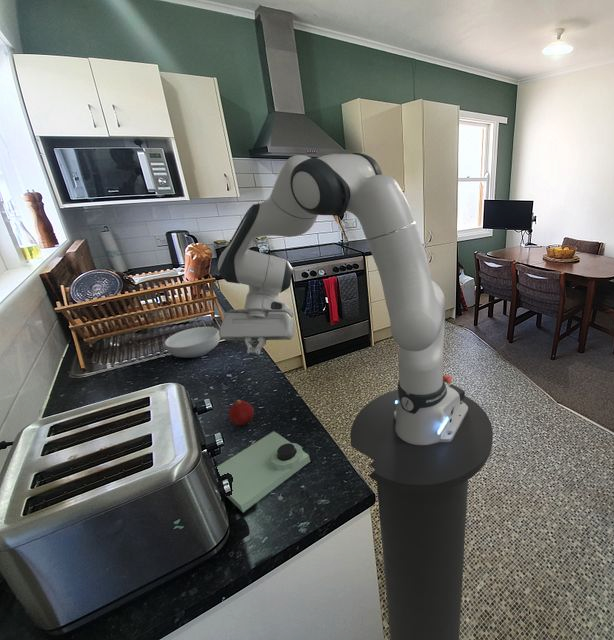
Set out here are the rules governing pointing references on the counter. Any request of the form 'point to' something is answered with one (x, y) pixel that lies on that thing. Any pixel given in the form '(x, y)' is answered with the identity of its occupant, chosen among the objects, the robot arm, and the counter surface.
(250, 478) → the scale
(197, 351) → the cereal bowl
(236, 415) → the onion
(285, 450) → the button
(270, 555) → the counter surface
